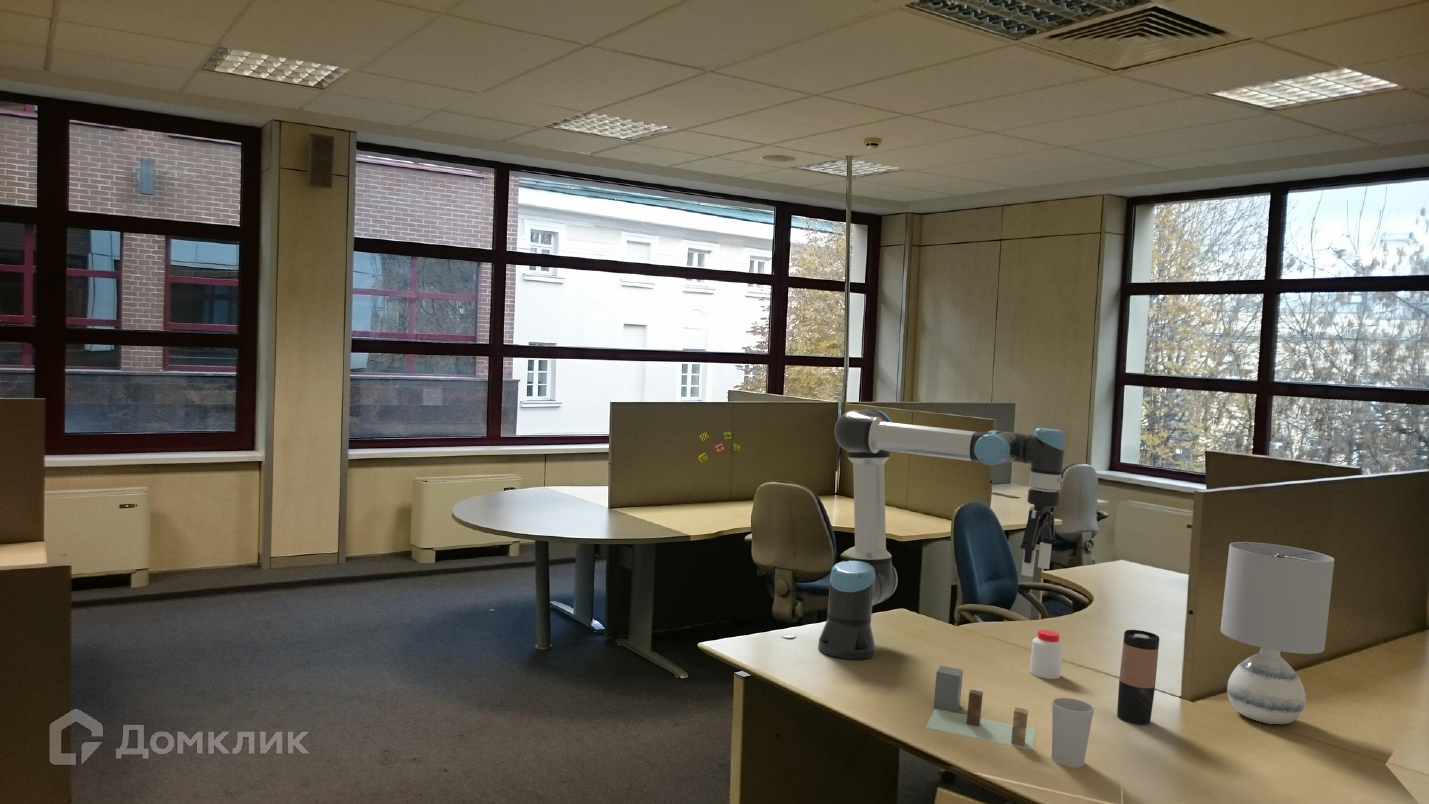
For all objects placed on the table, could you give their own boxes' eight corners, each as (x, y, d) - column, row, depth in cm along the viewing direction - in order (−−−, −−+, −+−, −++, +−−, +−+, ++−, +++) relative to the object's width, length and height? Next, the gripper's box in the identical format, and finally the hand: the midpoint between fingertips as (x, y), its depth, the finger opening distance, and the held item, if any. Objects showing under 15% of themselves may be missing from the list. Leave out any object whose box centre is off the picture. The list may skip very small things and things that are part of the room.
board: (925, 729, 210) (925, 727, 210) (935, 710, 223) (935, 708, 222) (1031, 752, 202) (1032, 750, 202) (1036, 731, 214) (1036, 729, 214)
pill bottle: (1056, 670, 259) (1060, 630, 259) (1063, 680, 252) (1067, 638, 251) (1026, 667, 260) (1030, 627, 259) (1033, 677, 252) (1036, 635, 252)
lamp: (1325, 721, 235) (1343, 555, 233) (1303, 743, 219) (1322, 565, 217) (1227, 695, 250) (1243, 538, 247) (1200, 714, 234) (1217, 547, 232)
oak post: (1011, 743, 205) (1014, 711, 205) (1012, 739, 207) (1015, 707, 207) (1023, 746, 204) (1027, 713, 204) (1025, 742, 206) (1028, 709, 206)
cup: (1040, 753, 202) (1045, 696, 201) (1077, 755, 203) (1082, 698, 202) (1056, 770, 194) (1062, 711, 193) (1095, 771, 195) (1101, 712, 194)
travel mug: (1149, 716, 229) (1158, 632, 228) (1152, 728, 222) (1161, 641, 221) (1114, 710, 232) (1122, 627, 230) (1116, 721, 224) (1125, 635, 223)
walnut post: (966, 724, 214) (969, 692, 214) (968, 720, 217) (970, 689, 216) (978, 726, 213) (981, 695, 213) (980, 722, 216) (982, 691, 215)
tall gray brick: (933, 708, 224) (936, 671, 223) (937, 701, 228) (940, 665, 228) (956, 713, 222) (959, 676, 221) (959, 706, 226) (963, 669, 226)
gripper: (1044, 495, 236) (1035, 582, 237) (1072, 488, 256) (1064, 567, 258) (1013, 490, 240) (1004, 575, 242) (1044, 483, 261) (1035, 562, 262)
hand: (1035, 571), depth 250 cm, fingers open, 13 cm apart
